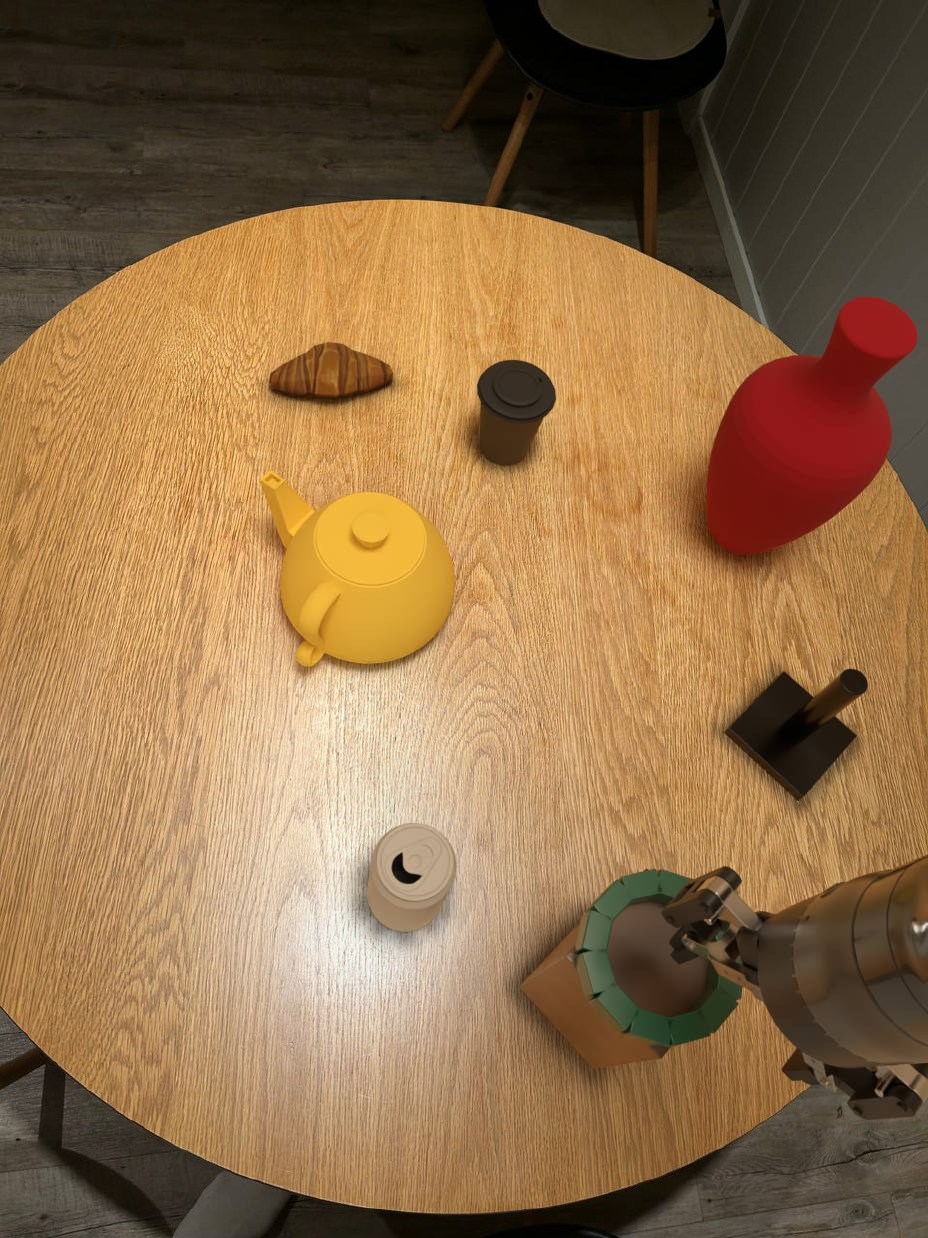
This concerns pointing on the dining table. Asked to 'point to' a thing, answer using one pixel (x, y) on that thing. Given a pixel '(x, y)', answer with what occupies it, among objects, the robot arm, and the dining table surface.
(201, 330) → the dining table surface
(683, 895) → the robot arm
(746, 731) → the post
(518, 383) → the coffee cup
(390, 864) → the beverage can
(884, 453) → the vase
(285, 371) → the croissant
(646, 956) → the brown rectangular block
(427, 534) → the teapot
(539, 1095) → the dining table surface
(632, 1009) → the ring
